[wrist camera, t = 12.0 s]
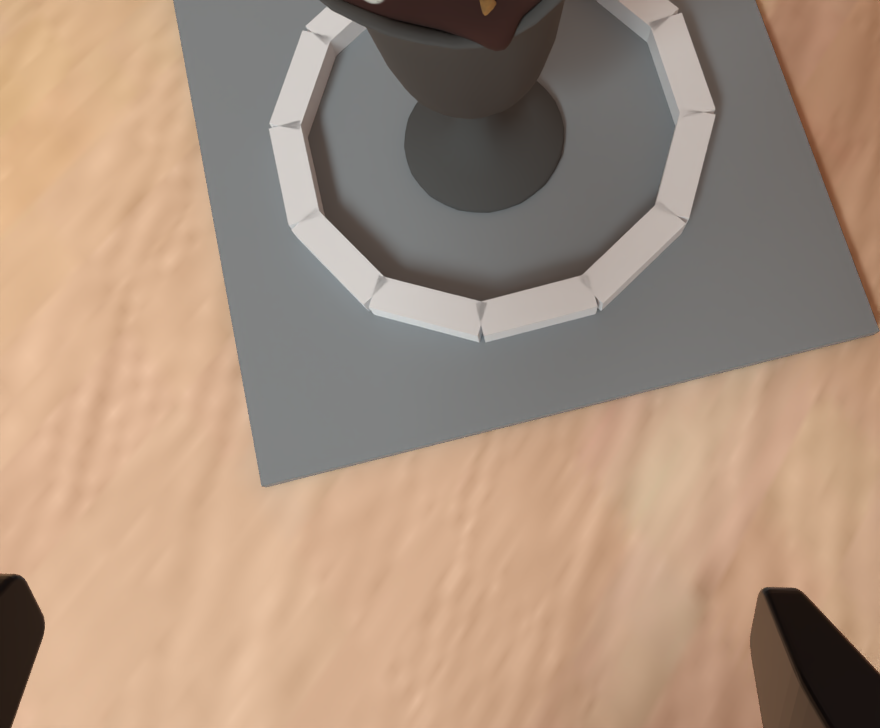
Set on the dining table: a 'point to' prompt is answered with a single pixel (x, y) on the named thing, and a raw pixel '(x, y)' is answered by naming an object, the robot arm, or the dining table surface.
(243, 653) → the dining table surface
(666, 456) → the dining table surface
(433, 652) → the dining table surface
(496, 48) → the sundae
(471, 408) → the ring mat
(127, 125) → the dining table surface
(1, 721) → the robot arm
